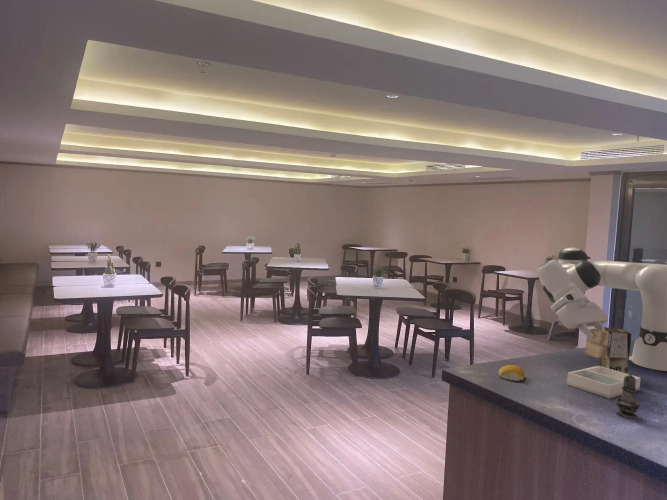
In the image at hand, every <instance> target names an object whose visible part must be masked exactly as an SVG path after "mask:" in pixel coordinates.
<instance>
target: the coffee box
mask: <svg viewBox="0 0 667 500" xmlns="http://www.w3.org/2000/svg"><path fill="white" fill-rule="evenodd" d="M603 328H604V330H605V331H609V332H608V342H607V353H606V356H604V357H600V363H599V366H601V367H605V368H608V369H612V370H615V371H619V372H622V373H626V374H629V373H628V372H629V364H630V363H629V361H630V360H629V356H630V351H631V342H632V333H631V332H629V331H627V330H626V329H623V328H619V327H606V326H605V327H604V326H603Z"/></svg>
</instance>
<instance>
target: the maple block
mask: <svg viewBox="0 0 667 500" xmlns="http://www.w3.org/2000/svg"><path fill="white" fill-rule="evenodd" d="M588 329H589V328H588ZM589 330H590V331H591V332H592V331H593V333H594V334H595V337H594V338H593V339H589V338H588V337H587V336H586V341H585V351H584V354H585V355H586V356H589V357H593V358H596V359H597V358H601V357H604V356H606V353H607V342H608V332H609V331H605V330H600V329H597V328H591V329H589Z"/></svg>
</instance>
